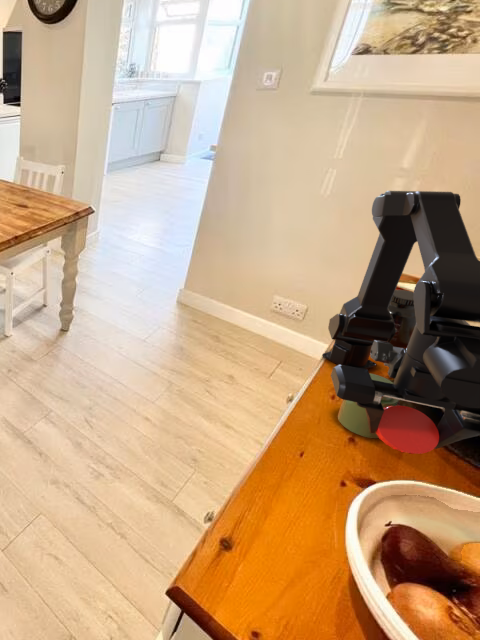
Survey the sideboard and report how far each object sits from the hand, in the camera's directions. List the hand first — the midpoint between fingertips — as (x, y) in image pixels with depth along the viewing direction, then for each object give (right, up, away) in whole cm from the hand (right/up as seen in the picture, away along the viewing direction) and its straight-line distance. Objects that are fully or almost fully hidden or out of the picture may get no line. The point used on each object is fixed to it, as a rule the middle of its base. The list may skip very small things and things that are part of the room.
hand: (401, 438), depth 62 cm
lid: (0, +2, -1) cm, 2 cm away
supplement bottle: (+30, +9, +30) cm, 43 cm away
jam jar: (+5, -2, +11) cm, 12 cm away
